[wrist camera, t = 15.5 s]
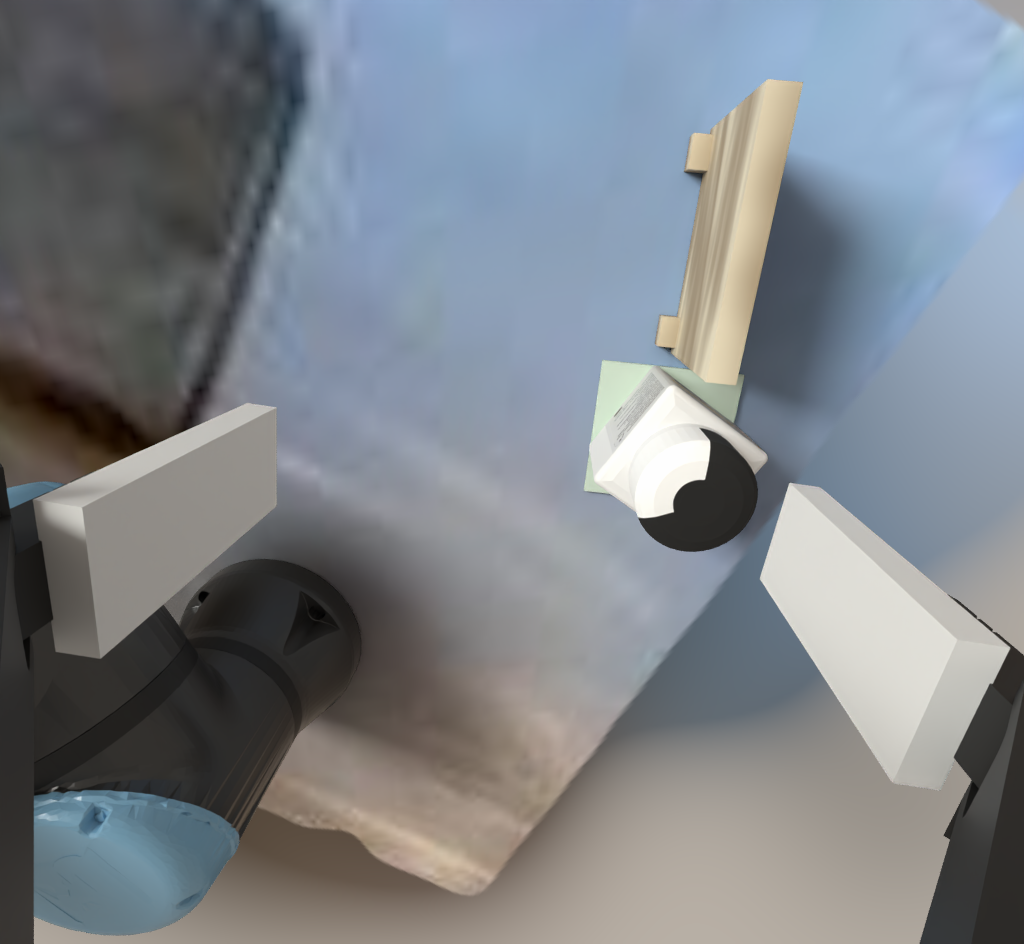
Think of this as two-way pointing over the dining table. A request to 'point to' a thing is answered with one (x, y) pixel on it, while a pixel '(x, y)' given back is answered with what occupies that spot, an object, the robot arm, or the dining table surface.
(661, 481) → the container
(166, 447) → the robot arm
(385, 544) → the dining table surface
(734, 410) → the mat
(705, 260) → the screen
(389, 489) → the dining table surface
